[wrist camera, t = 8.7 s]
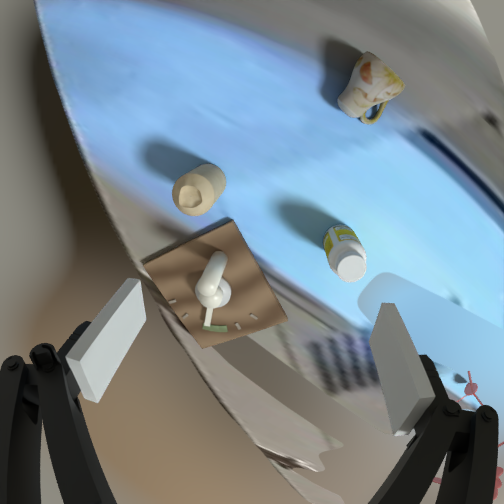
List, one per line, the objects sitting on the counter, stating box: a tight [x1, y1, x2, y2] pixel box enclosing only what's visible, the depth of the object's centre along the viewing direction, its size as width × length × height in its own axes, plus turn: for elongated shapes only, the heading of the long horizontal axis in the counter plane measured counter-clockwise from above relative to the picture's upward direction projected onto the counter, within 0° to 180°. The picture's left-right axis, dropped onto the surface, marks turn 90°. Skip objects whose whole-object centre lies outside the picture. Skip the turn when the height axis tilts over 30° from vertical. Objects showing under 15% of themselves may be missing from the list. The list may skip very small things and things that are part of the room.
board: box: [143, 220, 288, 349], centre depth 52 cm, size 20×18×1 cm
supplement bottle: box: [323, 225, 366, 282], centre depth 42 cm, size 5×5×10 cm
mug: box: [338, 51, 405, 124], centre depth 34 cm, size 8×10×10 cm
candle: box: [172, 164, 226, 216], centre depth 40 cm, size 6×6×10 cm
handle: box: [195, 251, 232, 327], centre depth 47 cm, size 15×6×9 cm, turn 168°
